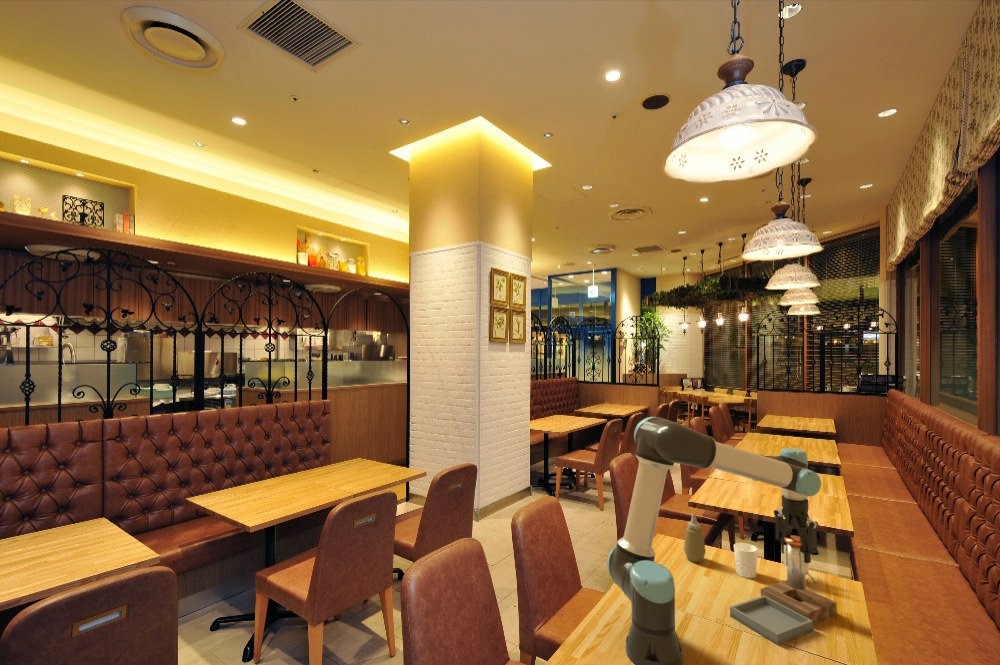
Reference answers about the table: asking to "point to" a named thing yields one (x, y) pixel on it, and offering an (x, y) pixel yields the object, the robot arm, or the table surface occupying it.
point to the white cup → (745, 559)
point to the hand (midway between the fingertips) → (796, 568)
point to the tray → (771, 619)
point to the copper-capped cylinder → (794, 563)
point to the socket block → (802, 601)
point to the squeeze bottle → (694, 541)
